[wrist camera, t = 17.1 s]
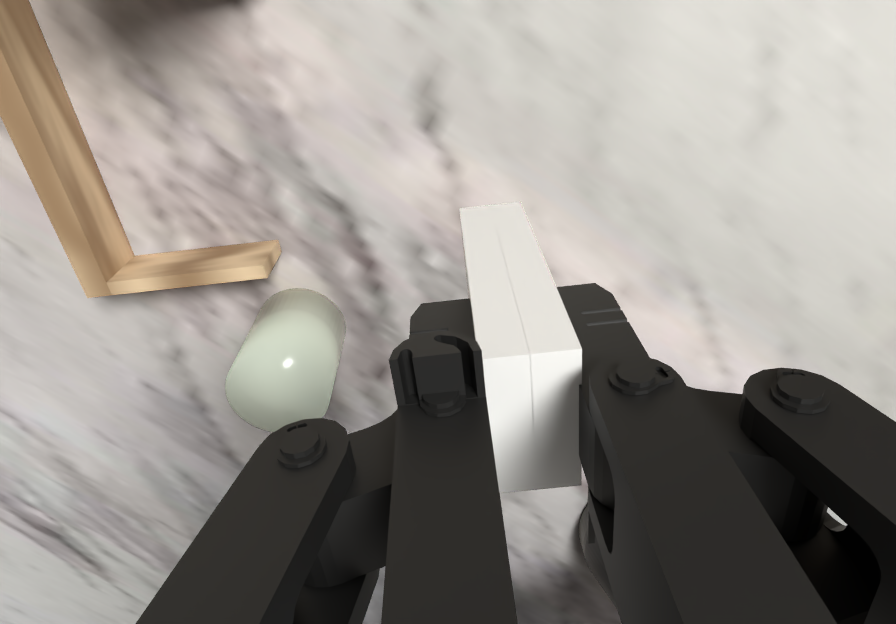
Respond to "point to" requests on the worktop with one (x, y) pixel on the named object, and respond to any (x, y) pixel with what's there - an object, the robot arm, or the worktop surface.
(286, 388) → the green jar
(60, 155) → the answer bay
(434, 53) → the worktop surface
